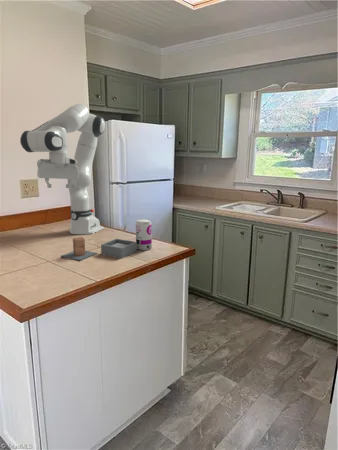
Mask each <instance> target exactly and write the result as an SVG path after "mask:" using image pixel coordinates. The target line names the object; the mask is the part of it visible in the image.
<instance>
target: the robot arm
mask: <svg viewBox="0 0 338 450" xmlns="http://www.w3.org/2000/svg"><path fill="white" fill-rule="evenodd" d="M105 129H106V121H105V119H104V118H103V117H102V116H101V115H100V116H99V115H95V114H93V113H90V111H89V108H88V107H87V106H86V105H85V104H83V103H76V104H73V105H72V106H70V107H68V108H67V109H66V110H64V111H62V112H61V113H59V114H58V115H57V116H55V117H53V118H52V119H50V120H48V121H46V122H44V123H42V124H41V125H39V126H37V127H35V128H34V129H32V130H25V131H23V132H22V134H21V136H20V139H19V142H20V145H21V147H22V148H23V149H24V150H25V152H27V153H35V152H36V153H45V152H46V153H47V152H48V158H46V159H45V158H41V159H40V158H39V159H38V160H37V163H36V165H37V172H36V173H37V174H36V175H37V178H39V179H44V181H45V183H46V185H47V188H49V189H50V188H52V184H51V183H50V182H49V181H50V179H59V180H61V179H62V180H63V179H64V180H67V184H65V188H66V189H68V192H69V197H70V198H69V199H70V226H69V227H70V228H69V233H70V234H72V235H93V234H95V232H96V233H97V232H99V231H102V230H104V226H102V225H101V224H100V223H101V222H100V219H99V218H97V217H95V216H94V215H93V213H95V209H92V208H91V209H90V196H89V193H88V187H89V186H90V185H91V183H92V171H93V163H94V158H95V154H96V150H97V146H98V137H100V136H101V135H103V133H104V132H105ZM77 131H78V132H81V134H80V135H79V137H78V141H77V145H76V148H75V152H74V156H73V158H72V157H69V154H68V134H69V133H70V134H71V133H74V132H77Z"/></svg>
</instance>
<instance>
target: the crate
mask: <svg viewBox="0 0 338 450" xmlns="http://www.w3.org/2000/svg"><path fill="white" fill-rule="evenodd" d="M100 250H101V251H100V252H101V253H100V254H101V255H103V256H107V257H113V258H118V259H124V258H126V257H128V256H130V255H132V254H134V253H137V250H138V249H137V246H136V241H134V240H129V239H122V238H121V239H120V238H115V239H111V240H108V241H107V242H104V243H102V244H100Z"/></svg>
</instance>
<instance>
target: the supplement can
mask: <svg viewBox="0 0 338 450" xmlns="http://www.w3.org/2000/svg"><path fill="white" fill-rule="evenodd" d="M152 228H153V227H152V222H151V219H147V218H143V219H142V218H141V219H137V220H136V222H135V242H136V246H137V250H140V251H149V250H151V248H152V247H153V244H152V242H153V240H152V239H153V235H152V232H153V231H152V230H153V229H152Z"/></svg>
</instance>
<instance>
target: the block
mask: <svg viewBox="0 0 338 450" xmlns="http://www.w3.org/2000/svg"><path fill="white" fill-rule="evenodd" d="M85 241H86V239H85V238H84V237H83V236H79V237H77V236H76V237H73V238H72V245H73V246H72V249H73V251H74V254H75V256H81V255H85V251H86V243H85Z"/></svg>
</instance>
